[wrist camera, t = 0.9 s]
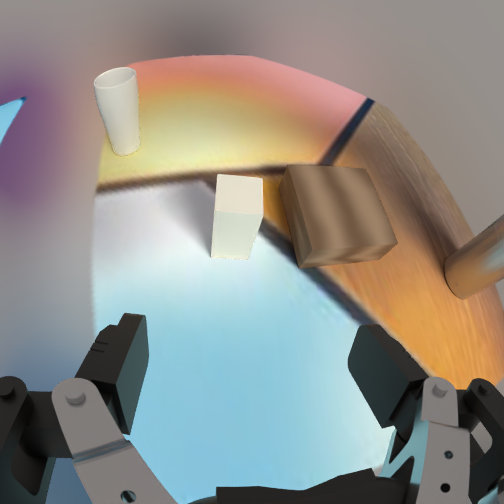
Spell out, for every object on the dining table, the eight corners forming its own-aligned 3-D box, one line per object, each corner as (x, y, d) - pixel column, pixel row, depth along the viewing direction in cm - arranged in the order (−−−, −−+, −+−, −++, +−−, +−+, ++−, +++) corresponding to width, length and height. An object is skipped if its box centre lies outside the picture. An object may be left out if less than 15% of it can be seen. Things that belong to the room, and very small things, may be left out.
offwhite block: (248, 228, 41) (262, 178, 32) (247, 260, 39) (263, 215, 29) (213, 225, 41) (217, 174, 31) (210, 257, 38) (214, 211, 29)
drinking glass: (126, 131, 47) (116, 64, 34) (152, 141, 46) (146, 70, 33) (102, 152, 44) (84, 84, 31) (127, 165, 43) (112, 92, 30)
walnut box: (351, 190, 49) (365, 168, 43) (377, 260, 43) (398, 243, 38) (278, 189, 46) (287, 164, 41) (298, 269, 40) (312, 250, 35)
